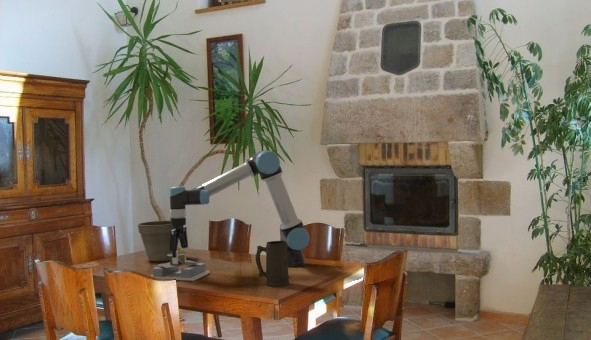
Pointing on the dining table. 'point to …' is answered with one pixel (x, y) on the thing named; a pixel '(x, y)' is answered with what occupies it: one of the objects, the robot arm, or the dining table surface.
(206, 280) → the dining table surface
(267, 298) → the dining table surface
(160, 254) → the plant pot
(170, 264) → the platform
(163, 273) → the tray with grey blocks
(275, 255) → the beer stein
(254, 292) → the dining table surface
